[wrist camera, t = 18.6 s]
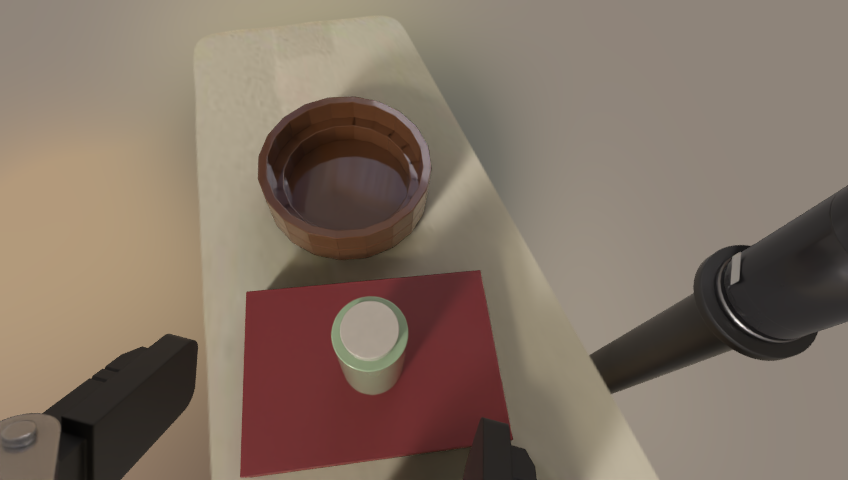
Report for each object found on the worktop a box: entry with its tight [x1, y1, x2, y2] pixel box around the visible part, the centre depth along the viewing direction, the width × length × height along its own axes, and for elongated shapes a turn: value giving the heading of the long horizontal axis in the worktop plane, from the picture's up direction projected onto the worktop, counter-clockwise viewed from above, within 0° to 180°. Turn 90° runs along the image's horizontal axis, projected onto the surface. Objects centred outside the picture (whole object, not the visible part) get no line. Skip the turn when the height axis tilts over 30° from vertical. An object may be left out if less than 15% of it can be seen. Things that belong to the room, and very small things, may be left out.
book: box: [240, 270, 513, 477], centre depth 40 cm, size 20×14×3 cm
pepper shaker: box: [331, 296, 408, 395], centre depth 34 cm, size 5×5×10 cm
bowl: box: [258, 97, 432, 260], centre depth 46 cm, size 16×16×5 cm
